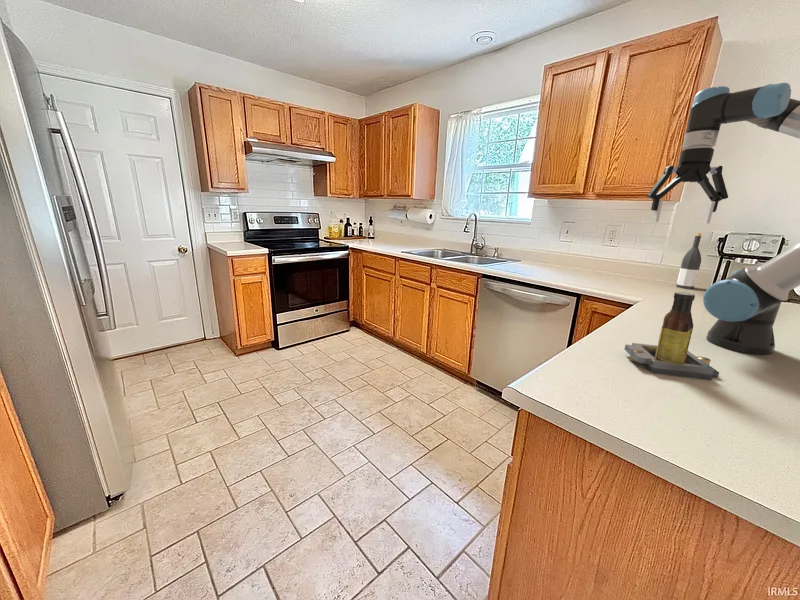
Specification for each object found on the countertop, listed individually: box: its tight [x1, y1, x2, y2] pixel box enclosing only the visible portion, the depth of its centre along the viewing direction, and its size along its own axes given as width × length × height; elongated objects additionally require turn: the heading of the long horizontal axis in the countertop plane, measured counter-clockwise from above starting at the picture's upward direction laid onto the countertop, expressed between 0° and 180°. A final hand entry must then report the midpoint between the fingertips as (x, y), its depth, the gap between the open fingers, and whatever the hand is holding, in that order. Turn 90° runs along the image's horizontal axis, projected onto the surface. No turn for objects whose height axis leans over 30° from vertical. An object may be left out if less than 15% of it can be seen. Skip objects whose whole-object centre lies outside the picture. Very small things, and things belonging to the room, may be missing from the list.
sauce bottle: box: [654, 291, 696, 363], centre depth 87 cm, size 7×6×20 cm
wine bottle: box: [675, 232, 702, 290], centre depth 184 cm, size 8×8×30 cm
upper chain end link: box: [624, 342, 715, 375], centre depth 90 cm, size 16×13×3 cm
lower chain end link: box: [640, 351, 720, 381], centre depth 89 cm, size 16×13×3 cm
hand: (679, 222), depth 105 cm, fingers open, 13 cm apart
